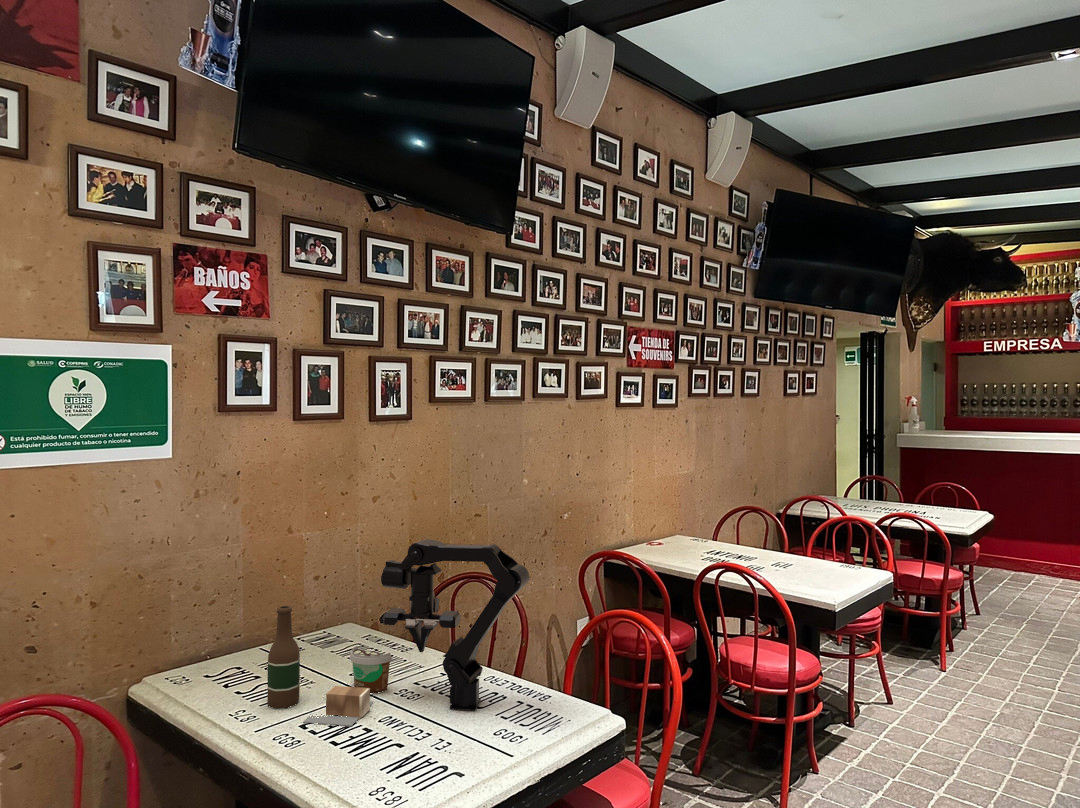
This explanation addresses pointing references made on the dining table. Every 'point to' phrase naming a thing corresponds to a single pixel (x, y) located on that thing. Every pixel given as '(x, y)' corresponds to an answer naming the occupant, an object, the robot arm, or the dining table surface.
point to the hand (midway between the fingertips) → (421, 651)
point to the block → (348, 701)
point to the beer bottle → (283, 664)
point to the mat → (333, 719)
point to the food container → (370, 669)
